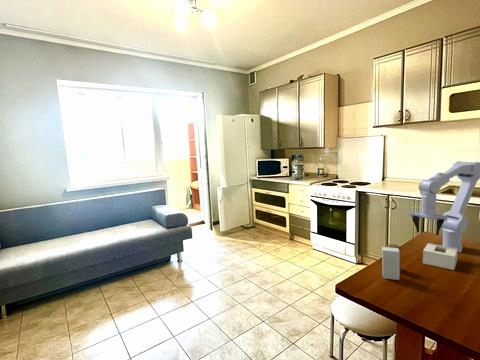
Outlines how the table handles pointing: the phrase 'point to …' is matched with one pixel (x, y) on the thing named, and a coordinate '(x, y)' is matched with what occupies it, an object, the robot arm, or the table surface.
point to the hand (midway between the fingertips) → (427, 233)
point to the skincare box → (390, 263)
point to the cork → (394, 247)
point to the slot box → (440, 256)
